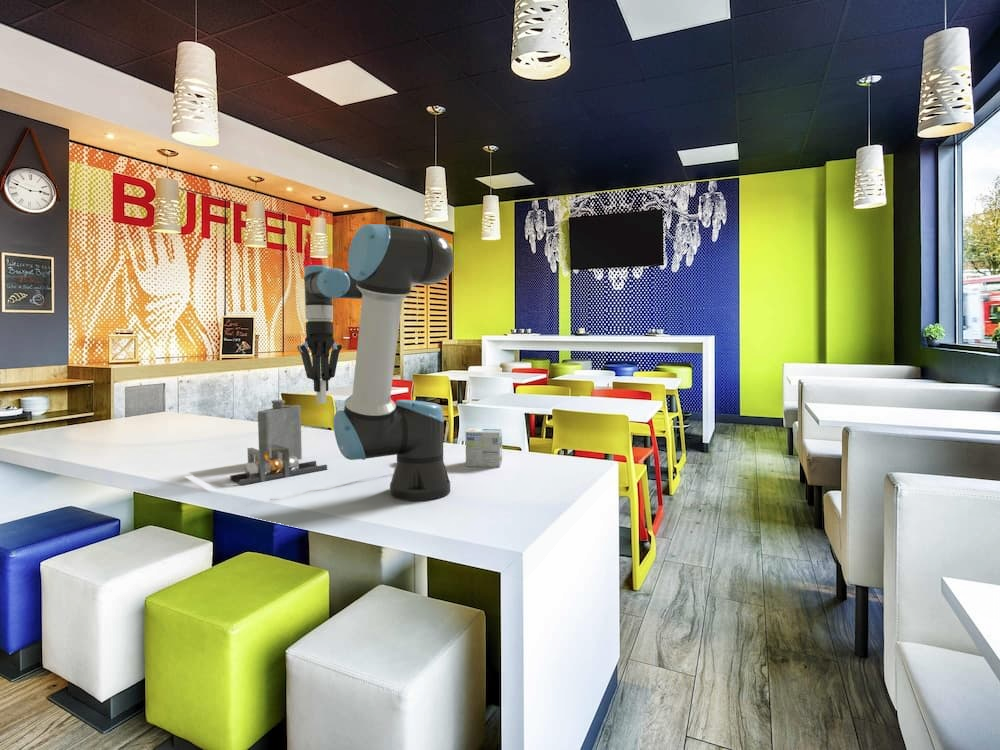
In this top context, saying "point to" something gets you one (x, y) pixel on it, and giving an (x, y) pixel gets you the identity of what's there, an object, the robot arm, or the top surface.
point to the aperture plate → (267, 456)
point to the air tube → (270, 467)
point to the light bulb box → (484, 447)
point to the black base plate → (279, 474)
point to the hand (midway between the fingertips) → (321, 402)
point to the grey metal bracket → (274, 453)
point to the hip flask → (280, 428)
